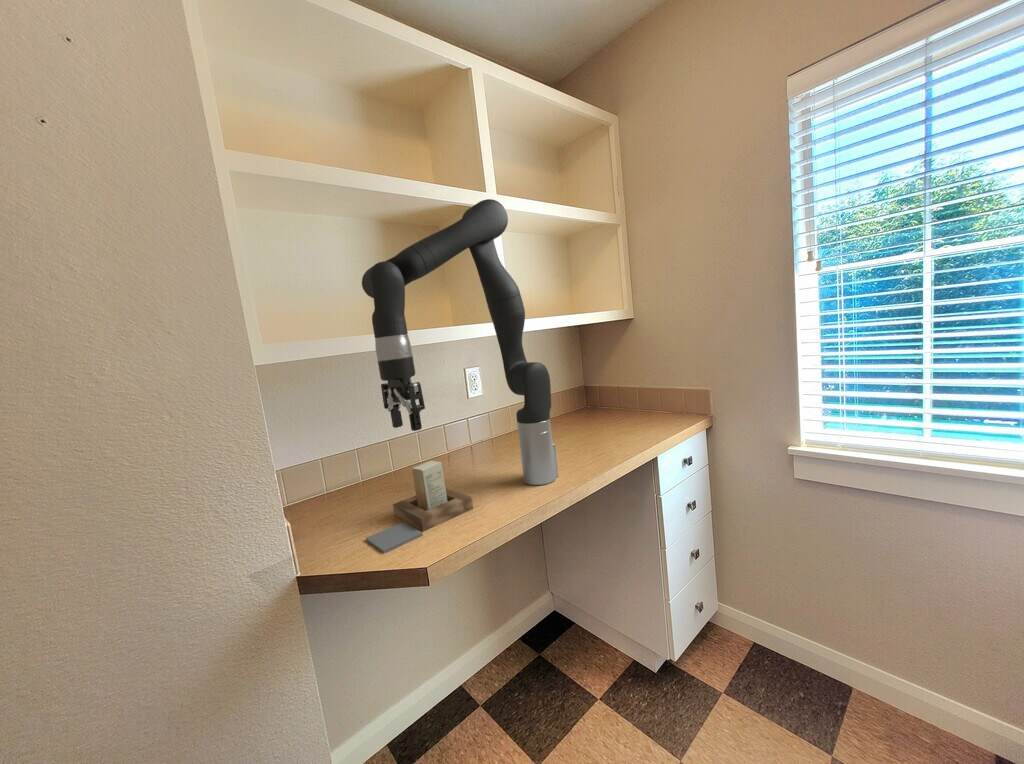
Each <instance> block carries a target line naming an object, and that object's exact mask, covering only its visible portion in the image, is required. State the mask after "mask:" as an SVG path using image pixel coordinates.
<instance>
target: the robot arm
mask: <svg viewBox="0 0 1024 764" xmlns="http://www.w3.org/2000/svg"><path fill="white" fill-rule="evenodd" d="M508 224H509V217H508V212H507V210H506V209H505V206H504V205H503V204H502V203H501V202H500V201H497V200H495V199H492V198H491V199H490V198H488V199H484V200H480V201H478V202H476V203H475V204H473V206H471V207H470V208H468V209H467V210H465V211H464V213H463V214H462V217H461V219H459V220H458V221H456V222H454V223H452V224H450V225H448V226H446V227H445V228H443V229H441V230H439V231H436V232H434V233H432V234H430V235H428V236H426V237H423V238H422V239H420V240H418V241H417V242H414V243H413V244H411V245H409V246H407V247H405V248H404V249H402V250H401V251H400V252H398V254H395V256H393V257H392V258H389V259H386V260H385V261H384V260H383V261H379V262H377V263H375V264H374V265H373V266H371V267H370V268H368V269H367V270H366V271H365V272H364V274H362V275H363V276H362V278H361V287H362V290H363V291H364V293H365V294H366V295H367V296H368V297H370V298H371V299H373V305H374V309H373V312H372V315H371V322H372V328H373V329H372V330H373V335H374V341H375V344H374V345H375V354H376V360H377V364H378V370H379V375H380V380H381V381H384V383H381V384H380V389H381V395H382V402H383V408H384V409H385V410H387V411H388V412H389V413H390V418H391V424H392V427H393V428H394V429H397V428H400V427H402V426H403V419H402V412H401V406H402V407H405V409H406V411H407V413H408V417H409V423H410V424H409V425H410V430H411V431H412V432H416V431H420V430H422V428H423V426H422V420H421V415H420V414H421V411H423V410H425V409H426V407H425V406H426V405H425V399H424V395H423V391H422V386H421V385H422V384H421V382H420V381H415V382H412V379H411V378H412V377H414V376H415V375H416V368H415V362H414V357H413V356H414V355H413V349H412V344H411V341H410V338H409V334H408V327H407V322H406V316H405V309H406V308H405V307H406V286H407V285H409V284H410V283H412V282H414V281H417V280H419V279H422V278H423V277H426V275H429V274H430V273H432V272H433V271H435V270H436V269H438V268H440V267H441V266H443V265H444V264H446V263H447V262H449V261H450V260H452V259H453V258H454V257H456V256H457V255H459V254H460V253H462V252H464V251H465V250H467V249H469V252H470V255H471V257H472V259H473V261H474V264H475V268H476V271H477V274H478V277H479V280H480V283H481V286H482V291H483V292H484V298H485V300H486V305H487V307H488V308H487V309H488V311H489V314H490V318H491V322H492V324H493V329H494V331H495V335H496V338H497V342H498V346H499V350H500V355H501V359H502V365H503V369H504V376H505V380H506V384H507V386H508V388H509V390H510V391H511V392H512V393H513V394H515V395H518V396H523V398H524V399H523V400H524V401H523V402H524V404H523V407H522V408H520V409H518V410H517V411H516V413H515V414H516V425H517V432H518V443H519V450H520V460H521V467H522V470H521V471H522V477H523V482H524V483H525V484H527V485H531V486H542V485H547V484H550V483H551V484H552V482H554V481H555V480H556V479H557V477H559V470H558V469H559V468H558V460H557V459H558V457H557V451H556V444H555V443H554V442H553V435H552V434H553V433H552V425H551V415H550V414H551V413H550V412H551V409H552V390H551V386H552V385H551V377H550V373H549V370H548V368H547V367H546V366H545V365H544V364H543V363H541V362H537V361H536V362H535V361H534V362H533V361H532V362H531V361H530V362H529V361H528V360H527V358H526V355H525V351H524V347H523V335H524V327H525V322H526V321H525V320H526V311H525V309H526V308H525V307H524V306H525V305H524V301H523V298H522V294H521V291H520V288H519V286H518V285H517V283H516V281H515V280H514V279H513V277H512V275H510V273H509V272H508V271H507V269H506V268H505V266H504V265H503V264H502V261H501V260H500V258H499V255H498V252H497V249H496V245H495V239H497V238H499V237H501V235H502V234H503V233H504V232H505V231H506V230H507V227H508ZM385 381H386V382H385Z"/></svg>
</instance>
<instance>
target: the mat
mask: <svg viewBox="0 0 1024 764" xmlns="http://www.w3.org/2000/svg"><path fill="white" fill-rule="evenodd" d="M423 536H424V533H423V531H421V530H420V529H418V528H416V527H414V526H412V525H410V524H409V523H407V522H405V521H402V522H400V523H397V524H395V525H393V526H391V527H388V528H386V529H383V530H381V531H377V532H376V533H374V534H372V535H368V536H367V537H365V541H366V542H368V543H369V544H371V545H372V546H373V547H374V548H375V549H377V550H379V551H380V552H381V553H382V554H386V553H388V552H390V551H392V550H394V549H397V548H399V547H400V546H403V545H405V544H407V543H410V542H412V541H414V540H415V539H418V538H420V537H423Z"/></svg>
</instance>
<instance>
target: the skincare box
mask: <svg viewBox="0 0 1024 764" xmlns="http://www.w3.org/2000/svg"><path fill="white" fill-rule="evenodd" d="M411 470H412V471H411V473H412V477H413V478H412V479H413V484H414V489H415V495H416V497H417V503H418V507H419V508H421V509H423V510H425V511H427V510H430V509H432V508H434V507H437V506H439V505H441V504H444V503H446V502H448V501H447V495H446V488H447V487H446V482H445V476H444V469H443V464H442V461H438V460H437V461H436V460H428V461H426V462H423V463H421V464H419V465H416V466H415V467H412V468H411ZM445 487H446V488H445Z"/></svg>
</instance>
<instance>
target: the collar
mask: <svg viewBox="0 0 1024 764" xmlns="http://www.w3.org/2000/svg"><path fill="white" fill-rule="evenodd" d="M445 488H446V495H447V501H448V502H446V503H444V504H441V505H439V506H437V507H434V508H432V509H430V510H427V511H425V510H423V509H421V508H419V507H418V503H417V497H416V494H414V496H410V497H407V498H405V499H403V500H401V501H397V502H396V503H393V504H392V509H393V514H394V517H396V518H398V519H400V520H402V522H404V523H406V524H408V525H410V526H411V527H413V528H415V529H417V530H419V531H420V532H426V531H428V530H430V529H432V528H435V527H436V526H438V525H440V524H443V523H445V522H447V521H449V520H452V519H454V518H456V517H458V516H460V515H462V514H464V513H467V512H468V511H471V510H474V504H473V497H472V496H470V495H468V494H465V493H462V492H460V491H457V490H454V489H451V488H449V487H446V486H445Z"/></svg>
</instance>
